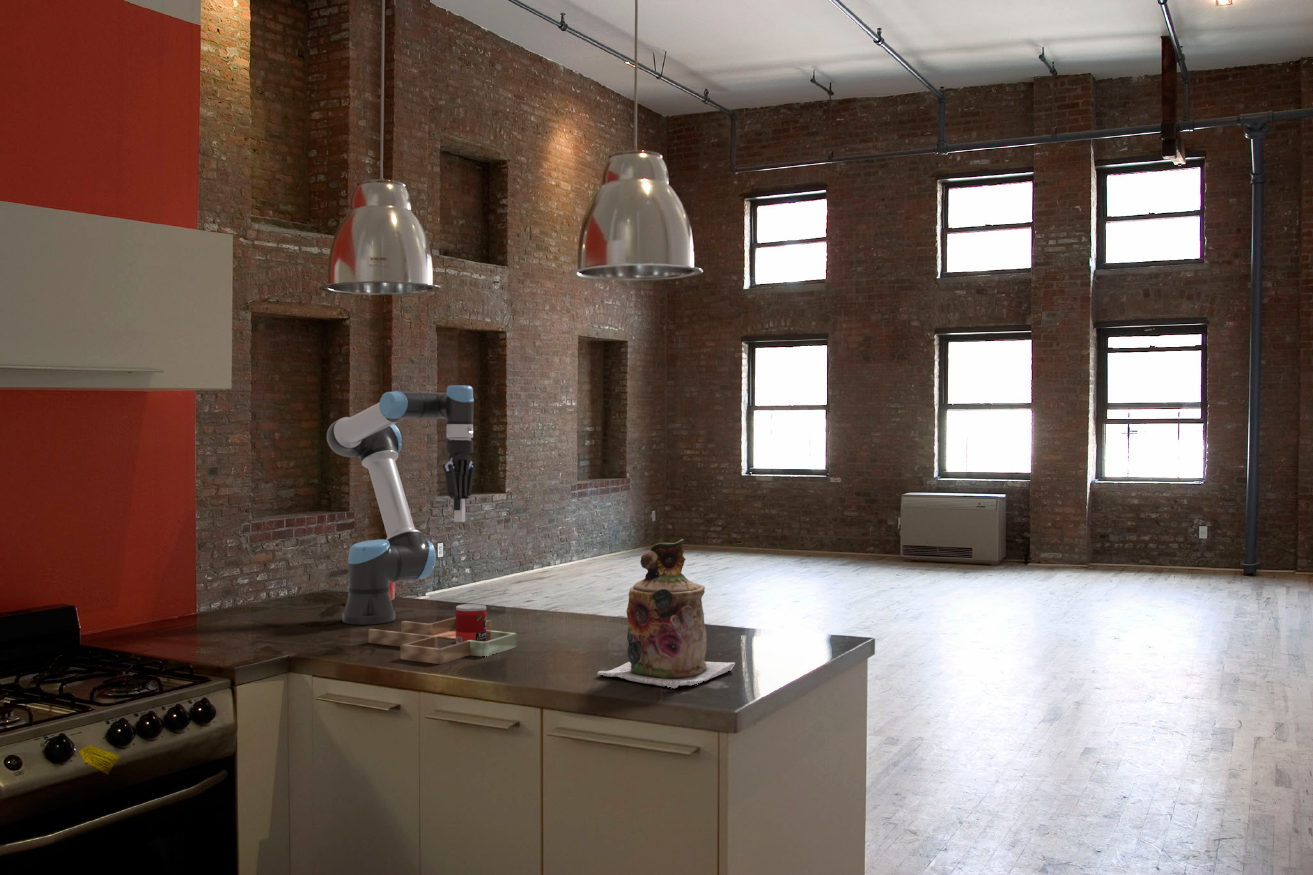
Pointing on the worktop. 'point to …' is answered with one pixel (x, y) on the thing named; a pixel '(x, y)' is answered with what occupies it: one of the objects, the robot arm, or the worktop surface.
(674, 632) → the cookie jar
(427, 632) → the channel
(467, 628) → the canned food
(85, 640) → the worktop surface
